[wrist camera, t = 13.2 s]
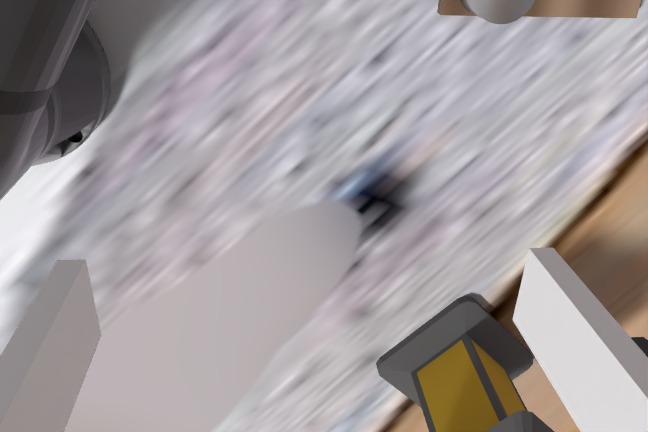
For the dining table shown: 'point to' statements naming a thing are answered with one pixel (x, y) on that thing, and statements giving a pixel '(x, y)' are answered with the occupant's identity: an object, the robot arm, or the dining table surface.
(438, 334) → the lantern
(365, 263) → the dining table surface
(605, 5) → the carrier board
